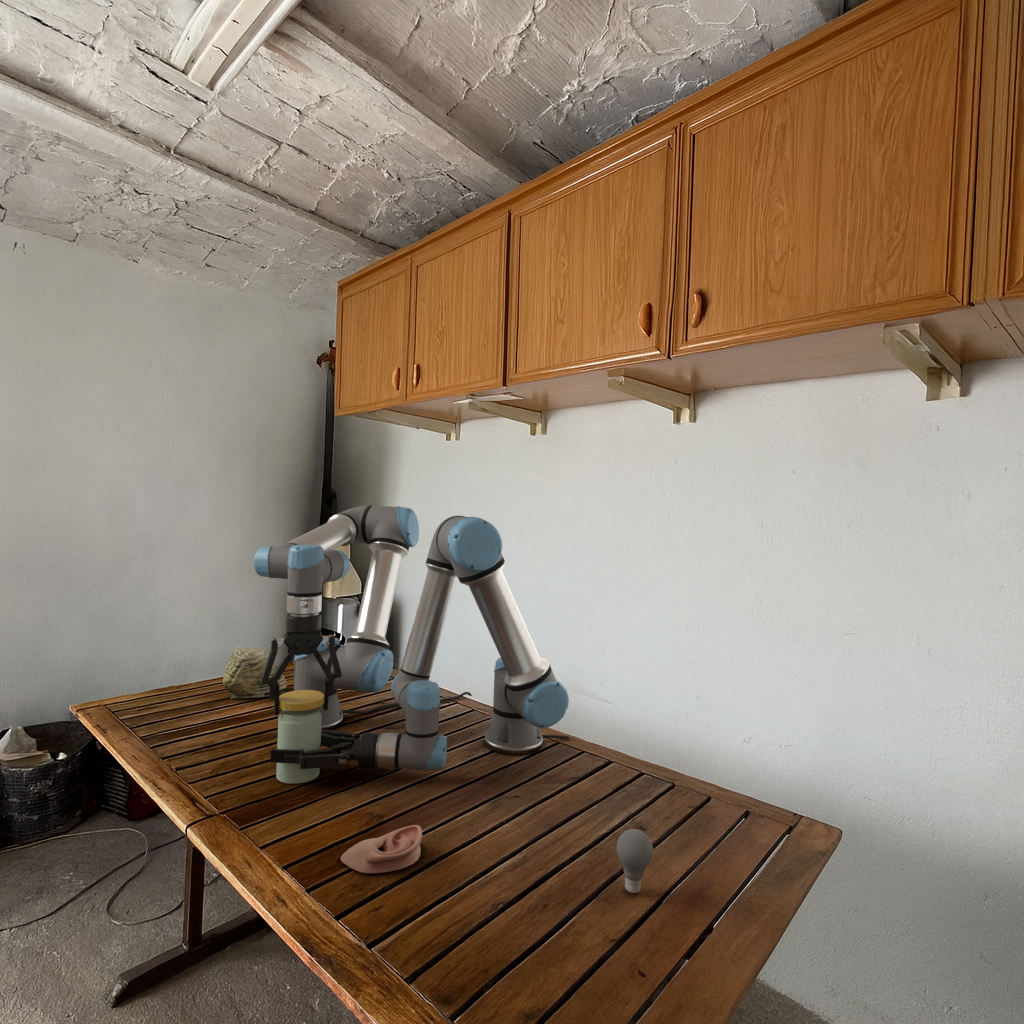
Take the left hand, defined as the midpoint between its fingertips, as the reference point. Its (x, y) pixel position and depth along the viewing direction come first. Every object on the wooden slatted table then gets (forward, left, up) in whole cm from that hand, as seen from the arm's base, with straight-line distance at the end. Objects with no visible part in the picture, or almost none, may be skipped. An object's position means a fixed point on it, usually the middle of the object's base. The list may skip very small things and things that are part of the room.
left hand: (301, 710), depth 144 cm
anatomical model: (+9, +40, -15) cm, 43 cm away
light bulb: (-13, +78, -15) cm, 80 cm away
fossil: (-22, -59, -15) cm, 64 cm away
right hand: (+3, -3, -8) cm, 9 cm away
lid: (0, 0, +3) cm, 3 cm away
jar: (0, 0, -15) cm, 15 cm away
